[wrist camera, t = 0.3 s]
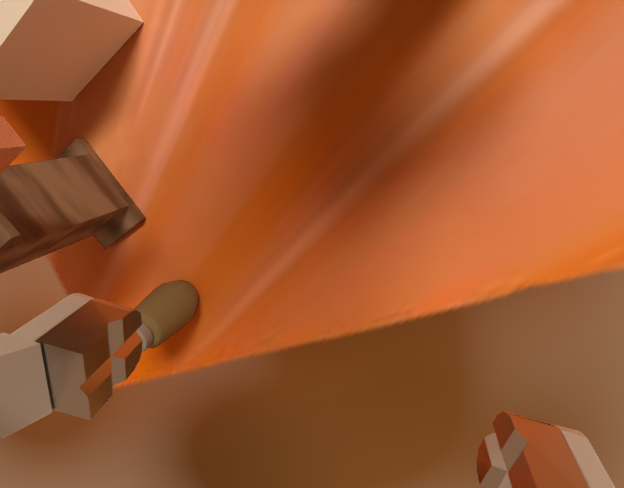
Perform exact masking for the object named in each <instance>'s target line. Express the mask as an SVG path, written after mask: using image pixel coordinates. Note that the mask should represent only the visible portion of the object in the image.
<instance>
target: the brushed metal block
mask: <svg viewBox="0 0 624 488" xmlns="http://www.w3.org/2000/svg"><path fill="white" fill-rule="evenodd" d="M26 146H27V145H26V144H25V143H24V142H23V141H22V139H21V138H20V137H19V136H18V134H17V133H16V132H15V131H14V129H13V128H12V127H11V126H10V124H9V123H8V122H7V121H6V119H5V118H4V117H3V116H0V175H1V174H2V173H3V172H4V171H5V170H6V168H7V167H8V166H9V165H10V164H11V163H12V162H13V161H14V160H15V159H16V157H17V156H18V155H19V154H20V153H21V152H22V151H23V150H24V149H25V147H26Z"/></svg>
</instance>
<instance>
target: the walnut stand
mask: <svg viewBox="0 0 624 488" xmlns="http://www.w3.org/2000/svg"><path fill="white" fill-rule="evenodd" d="M144 219H145V216H144V215H143V214H142V212H141V211H140V210H139V208H138V207H137V206H136V205H135V203H134V202H133V201H132V199H131V198H130V197H129V195H128V194H127V193H126V192H125V190H124V189H123V188H122V186H121V185H120V184H119V182H118V181H117V180H116V179H115V177H114V176H113V175H112V173H111V172H110V171H109V169H108V168H107V167H106V166H105V164H104V163H103V162H102V160H101V159H100V158H99V157H98V155H97V154H96V153H95V151H94V150H93V149H92V147H91V146H90V145H89V144H88V142H87V141H86V140H85V138H84V137H83V138H76V139H75V140H74V141H73V142H72V143H71V144H70V145H69V146H68V147H67V148H66V149H65V150H64V151H63V152H62V153H61V154H60V156H59V157H58V158H57V159H52V160H46V161H39V162H32V163H25V164H18V165H11V166H8V167H7V168H6V170H5V171H4V172H3V173H2V174H1V175H0V273H3V272H5V271H7V270H10V269H12V268H15V267H17V266H19V265H22V264H24V263H27V262H29V261H32V260H34V259H36V258H39V257H41V256H44V255H46V254H49V253H51V252H53V251H56V250H58V249H61V248H63V247H65V246H68V245H70V244H73V243H75V242H78V241H80V240H82V239H85V238H87V237H90V236H92V235H94V236H95V237H96V239H97V240H98V241H99V242H100V244H101V245H102V246H103V247H104V249H105V248H107V247H109V246H111V245H112V244H114V243H115V242H116V241H118V240H119V239H120V238H121V237H123V236H124V235H125V234H126V233H128V232H129V231H130V230H131V229H133V228H134V227H135V226H137V225H138V224H139V223H140V222H142V221H143V220H144Z"/></svg>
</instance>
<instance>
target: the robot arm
mask: <svg viewBox="0 0 624 488" xmlns="http://www.w3.org/2000/svg"><path fill="white" fill-rule="evenodd" d="M141 325H142V319H141V313H140V312H139V311H137V310H135V309H132V308H129V307H125V306H122V305H119V304H116V303H112V302H109V301H106V300H102V299H99V298H94V297H91V296H88V295H84V294H81V293H74V294H70V295H68V296H67V297H65V298H64V299H62V300H61V301H59V302H58V303H56V304H55V305H54V306H52V307H50V308H49V309H47V310H46V311H44V312H43V313H42V314H40V315H38V316H37V317H35V318H34V319H32V320H31V321H30V322H28V323H26V324H25V325H23V326H22V327H20V328H19V329H17V330H16V331H14V332H13V333H11V334H6V333H0V440H1V439H3V438H5V437H7V436H9V435H10V434H12V433H14V432H16V431H18V430H20V429H22V428H24V427H25V426H27V425H29V424H31V423H33V422H35V421H37V420H39V419H41V418H43V417H44V416H46V415H48V414H50V413H52V410H55V411H59V412H63V413H66V414H70V415H74V416H77V417H81V418H85V419H89V420H91V419H92V418H93V417H94V416H95V415H96V414H97V412H98V411H99V410H100V409H101V408H102V407H103V406H104V404H105V403H106V402H107V401H108V400H109V399H110V398H111V396H112V395H113V385H116V384H118V383H120V382H123V381H125V380H126V379H127V378H128V377H129V376H130V375H131V373H132V372H133V371H134V369H135V367H136V365H137V363H138V362H139V360H140V357H141V352H142V339H141V337H140V336H139V334H138V333H137V331H136V330H137V329H138V328H139V327H140V326H141ZM493 427H494V430H495V433H493V434H490V435H488V436H486V437H484V439H483V441H482V443H481V445H480V446H479V449H478V455H477V474H478V479H479V483H480V486H481V487H482V488H615V486H614V485H613V483H612V481H611V479H610V478H609V476H608V474H607V473H606V471H605V469H604V467H603V465H602V464H601V462H600V460H599V458H598V456H597V455H596V453H595V451H594V450H593V448H592V446H591V444H590V442H589V441H588V439H587V437H586V436H584V435H583V434H582V433H581V432H580V431H576V430H573V429H569V428H565V427H562V426H558V425H551V424H549V423H545V422H542V421H537V420H534V419H531V418H527V417H523V416H519V415H515V414H512V413H508V412H504V411H502V412H501V413H499V414H498V415H497V416H496V418H495V420H494V421H493Z"/></svg>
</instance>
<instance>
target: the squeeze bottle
mask: <svg viewBox="0 0 624 488" xmlns="http://www.w3.org/2000/svg"><path fill="white" fill-rule="evenodd" d="M198 302H199V295H198V292H197V290H196V289H195V287H194V286H193V285H192V284H190V283H189V282H186V281H183V280H180V281H174V282H169V283H164V284H161V285H160V286H158V287H157V288H155V289H154V290H153V291H152V292H151V293H150V294H149V295H148V296H147V297H146V298H145V299H144V300H143V301H142V302H141V303H140V304H139V305H138V306H137V307H136V308H135V310H137V311H139V312H140V313H141V319H142V325H141V326H140V327H139V328H138V329H137V330H136V331H137V333H138V334H139V336H140V337H141V339H142V352H143V351H145V350H146V349H147V348H155V347H156V346H158V345H160V344H161V343H162V342H164V341H165V340H166V339H168V338H169V337H170V336H171V335H173V334H174V333H175V332H177V331H178V330H179V329H180V328H182V327H183V326H184V325H186V324H187V323H188V322H189V321H191V319H192V317H193V316H194V314H195V311H196V308H197V305H198Z"/></svg>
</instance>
